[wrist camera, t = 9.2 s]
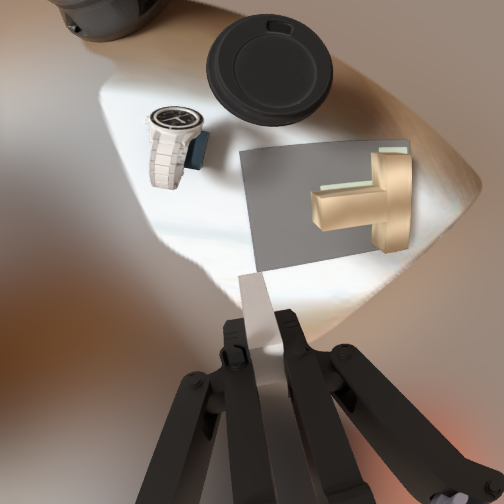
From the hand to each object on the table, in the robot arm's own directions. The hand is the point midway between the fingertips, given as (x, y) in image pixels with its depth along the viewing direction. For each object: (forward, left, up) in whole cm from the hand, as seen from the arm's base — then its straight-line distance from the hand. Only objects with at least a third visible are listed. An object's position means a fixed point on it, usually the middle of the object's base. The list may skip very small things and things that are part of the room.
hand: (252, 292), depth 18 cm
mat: (0, +13, -19) cm, 23 cm away
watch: (-10, -5, -19) cm, 22 cm away
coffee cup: (-15, +4, -19) cm, 24 cm away
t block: (0, +16, -18) cm, 24 cm away
